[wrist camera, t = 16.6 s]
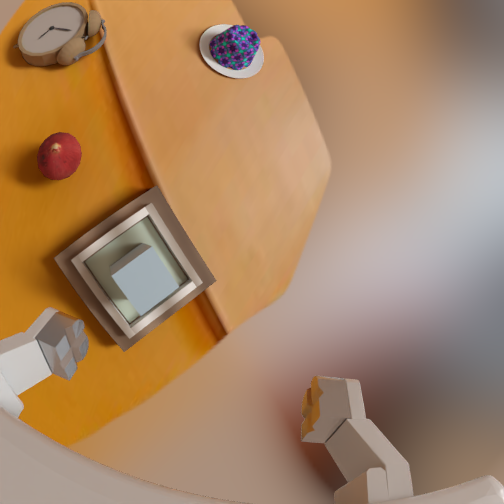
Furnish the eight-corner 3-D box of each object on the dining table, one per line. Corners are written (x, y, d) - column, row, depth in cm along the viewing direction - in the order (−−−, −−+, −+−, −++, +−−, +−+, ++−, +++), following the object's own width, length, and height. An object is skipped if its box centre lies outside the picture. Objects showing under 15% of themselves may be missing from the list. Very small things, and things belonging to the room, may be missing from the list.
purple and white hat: (239, 92, 43) (255, 80, 38) (183, 50, 37) (194, 33, 33) (272, 55, 45) (288, 43, 41) (223, 17, 40) (236, 1, 35)
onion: (47, 190, 31) (34, 180, 24) (40, 149, 29) (27, 131, 22) (86, 176, 33) (82, 163, 26) (79, 136, 32) (74, 115, 25)
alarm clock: (43, 0, 22) (121, 4, 26) (49, 17, 26) (121, 24, 31) (3, 52, 21) (81, 59, 26) (13, 68, 26) (87, 77, 30)
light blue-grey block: (132, 298, 34) (141, 316, 27) (109, 265, 33) (111, 275, 26) (163, 275, 36) (179, 287, 29) (141, 242, 35) (152, 246, 28)
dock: (122, 343, 37) (125, 356, 33) (57, 255, 32) (51, 259, 28) (208, 277, 43) (220, 282, 39) (153, 188, 38) (159, 183, 34)
